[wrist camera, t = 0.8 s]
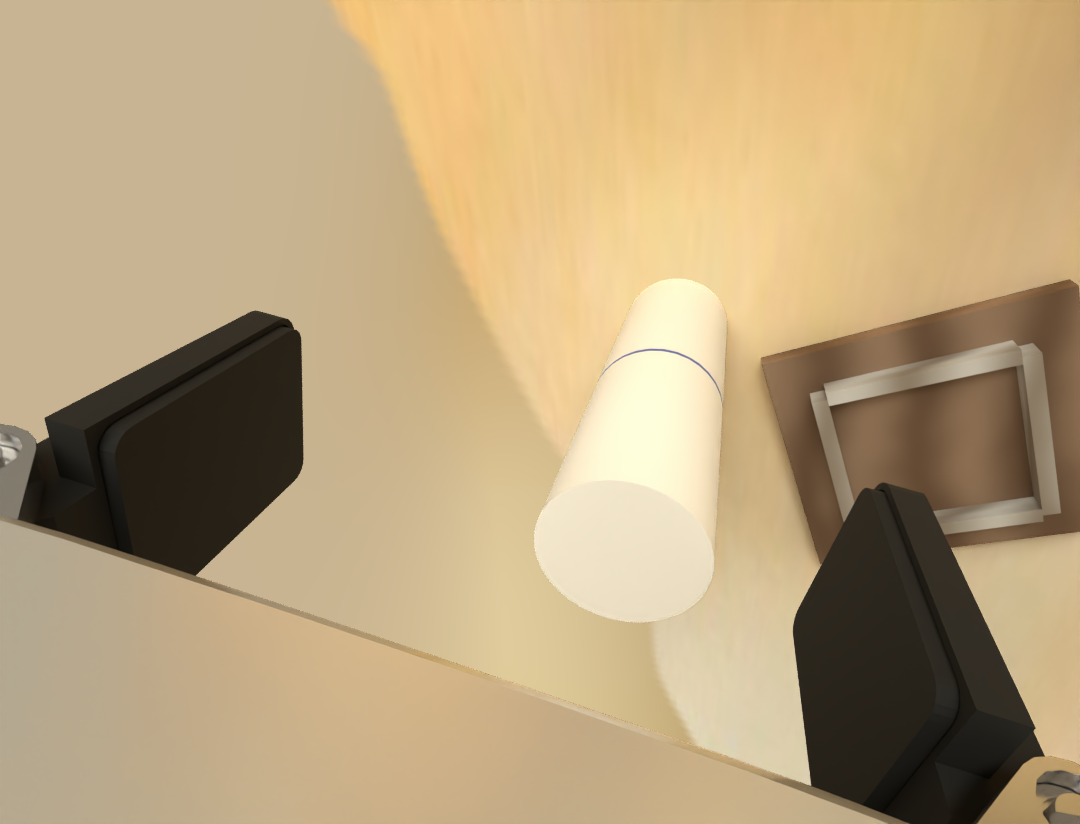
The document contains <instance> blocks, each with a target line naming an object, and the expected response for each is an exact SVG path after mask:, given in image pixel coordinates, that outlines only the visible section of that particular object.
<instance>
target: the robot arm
mask: <svg viewBox="0 0 1080 824" xmlns="http://www.w3.org/2000/svg"><path fill="white" fill-rule="evenodd" d="M301 358H302V356H301V336H300V334H299V332H298V331H297V330H294V327H293V325H292V323H291V322H290V321H289V320H288V319H285V318H281V317H278V316H274V315H271V314H267V313H263V312H259V311H252V312H250V313H248V314H246V315H244V316H242V317H240V318H238V319H236V320H234V321H232V322H231V323H228V324H226V325H224V326H222V327H220V328H219V329H216V330H215V331H213V332H211V333H209V334H207V335H205V336H203V337H201V338H199V339H197V340H195V341H193V342H191V343H189V344H187V345H185V346H183V347H181V348H180V349H178V350H176V351H174V352H172V353H170V354H168V355H166V356H164V357H162V358H160V359H158V360H156V361H154V362H152V363H150V364H148V365H146V366H145V367H143V368H141V369H139V370H137V371H135V372H133V373H131V374H129V375H127V376H125V377H123V378H121V379H119V380H117V381H116V382H113V383H112V384H109V385H108V386H106V387H104V388H102V389H100V390H98V391H96V392H94V393H92V394H90V395H88V396H86V397H84V398H82V399H81V400H78V401H76V402H75V403H72V404H71V405H69V406H67V407H65V408H63V409H61V410H59V411H57V412H55V413H53V414H51V415H49V416H48V417H45V422H46V426H47V430H48V433H49V438H47V439H45V440H43V441H41V442H40V443H38V444H37V443H36V439H35V438H34V437H33V436H32V435H31V434H30V433H29V432H28V431H26V430H23V429H21V428H18V427H16V426H10V425H4V424H0V824H1080V765H1079V764H1076V763H1074V762H1072V761H1068V760H1064V759H1060V758H1056V757H1052V756H1046V757H1045V756H1044V753H1043V751H1042V749H1041V747H1040V745H1039V743H1038V741H1037V738H1036V736H1035V734H1034V732H1033V731H1034V729H1035V726H1034V724H1033V722H1032V720H1031V717H1030V715H1029V713H1028V711H1027V709H1026V707H1025V705H1024V703H1023V700H1022V698H1021V696H1020V694H1019V692H1018V690H1017V688H1016V686H1015V683H1014V681H1013V679H1012V677H1011V675H1010V673H1009V671H1008V669H1007V667H1006V664H1005V662H1004V660H1003V658H1002V656H1001V654H1000V652H999V650H998V647H997V645H996V643H995V641H994V639H993V637H992V635H991V633H990V630H989V628H988V626H987V624H986V622H985V620H984V618H983V616H982V613H981V611H980V609H979V607H978V605H977V603H976V601H975V599H974V597H973V594H972V592H971V590H970V588H969V586H968V584H967V582H966V580H965V577H964V575H963V573H962V571H961V569H960V567H959V565H958V563H957V560H956V558H955V556H954V554H953V552H952V550H951V548H950V546H949V543H948V541H947V539H946V537H945V535H944V533H943V531H942V529H941V527H940V524H939V522H938V520H937V518H936V516H935V514H934V512H933V510H932V507H931V505H930V503H929V501H928V499H927V497H926V496H925V494H924V493H921V492H917V491H913V490H910V489H906V488H902V487H899V486H895V485H892V484H888V483H884V482H882V483H880V484H878V485H877V486H876V487H875V489H870V488H864V489H863V490H862V491H861V492H860V494H859V495H858V497H857V499H856V501H855V503H854V505H853V506H852V508H851V510H850V512H849V514H848V516H847V518H846V520H845V522H844V523H843V525H842V527H841V529H840V531H839V533H838V535H837V537H836V539H835V541H834V542H833V544H832V546H831V548H830V550H829V552H828V554H827V556H826V558H825V559H824V561H823V563H822V565H821V567H820V569H819V571H818V573H817V575H816V576H815V578H814V580H813V582H812V584H811V586H810V588H809V590H808V592H807V594H806V595H805V597H804V599H803V601H802V603H801V605H800V607H799V609H798V611H797V613H796V616H795V620H794V625H793V638H794V646H795V654H796V662H797V671H798V679H799V687H800V695H801V704H802V712H803V720H804V728H805V737H806V745H807V753H808V761H809V770H810V778H811V786H809V785H806V784H804V783H801V782H798V781H795V780H792V779H789V778H786V777H783V776H781V775H778V774H775V773H772V772H769V771H766V770H763V769H761V768H758V767H755V766H752V765H750V764H747V763H744V762H741V761H739V760H736V759H733V758H730V757H727V756H725V755H722V754H719V753H716V752H713V751H710V750H707V749H704V748H702V747H699V746H696V745H693V744H690V743H687V742H684V741H681V740H678V739H675V738H672V737H669V736H667V735H663V734H661V733H658V732H655V731H652V730H649V729H646V728H643V727H641V726H638V725H635V724H631V723H628V722H626V721H623V720H620V719H617V718H614V717H611V716H609V715H606V714H603V713H600V712H597V711H594V710H591V709H588V708H585V707H582V706H580V705H577V704H574V703H571V702H568V701H565V700H562V699H559V698H556V697H553V696H551V695H548V694H545V693H541V692H539V691H536V690H533V689H530V688H527V687H524V686H521V685H518V684H515V683H513V682H510V681H507V680H504V679H501V678H498V677H495V676H492V675H489V674H486V673H483V672H480V671H477V670H474V669H471V668H468V667H465V666H463V665H460V664H457V663H454V662H450V661H448V660H445V659H442V658H439V657H436V656H433V655H430V654H427V653H424V652H421V651H418V650H415V649H412V648H409V647H406V646H403V645H400V644H397V643H394V642H392V641H389V640H386V639H383V638H380V637H377V636H374V635H371V634H368V633H364V632H362V631H359V630H356V629H353V628H350V627H347V626H344V625H341V624H338V623H335V622H332V621H329V620H326V619H323V618H320V617H317V616H314V615H311V614H308V613H306V612H303V611H300V610H297V609H293V608H291V607H287V606H284V605H281V604H278V603H275V602H272V601H269V600H266V599H263V598H260V597H257V596H254V595H251V594H248V593H245V592H242V591H239V590H236V589H233V588H230V587H227V586H224V585H221V584H218V583H215V582H212V581H209V580H206V579H203V578H200V577H197V576H196V575H197V574H198V573H199V572H200V571H201V570H202V569H203V568H204V567H205V566H206V565H207V564H208V563H209V562H210V561H211V560H212V559H213V558H214V557H215V556H216V555H217V554H219V553H220V552H221V550H223V549H224V548H225V547H226V546H227V545H228V544H229V543H230V542H231V541H232V540H233V539H234V538H235V537H236V536H237V535H238V534H239V533H240V532H241V531H243V529H245V528H246V527H247V526H248V525H249V524H250V523H251V522H252V521H253V520H254V519H255V518H256V517H257V516H258V515H259V514H260V513H261V512H262V511H263V510H264V509H265V508H267V506H269V504H271V503H272V502H273V501H274V500H275V499H276V498H277V497H278V496H279V495H280V494H281V493H282V492H283V491H284V490H285V489H286V488H287V487H288V486H289V485H291V484H292V483H293V482H294V481H295V479H296V478H297V477H298V475H299V474H300V471H301V469H302V465H303V416H302V415H303V410H302V359H301Z"/></svg>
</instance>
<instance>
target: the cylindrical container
mask: <svg viewBox="0 0 1080 824" xmlns="http://www.w3.org/2000/svg"><path fill="white" fill-rule="evenodd" d="M726 342H727V318H726V313H725V310H724V308H723V305H722V303H721V302H720V301H719V299H718V298H717V296H716V295H715V294H714V293H713V292H712V291H711V290H709V289H708V288H706V287H705V286H703V285H702V284H699V283H697V282H694V281H691V280H686V279H667V280H662V281H659V282H657V283H654V284H652V285H650V286H649V287H647V288H646V289H644V290H643V291H642V292H641V293H640V294H639V295H638V296H637V297H636V299H635V300H634V301H633V303H632V305H631V307H630V309H629V312H628V314H627V316H626V318H625V321H624V323H623V325H622V328H621V330H620V332H619V334H618V337H617V339H616V341H615V344H614V346H613V348H612V350H611V353H610V355H609V357H608V359H607V362H606V364H605V366H604V369H603V371H602V373H601V375H600V378H599V380H598V382H597V385H596V387H595V389H594V391H593V394H592V396H591V398H590V401H589V403H588V405H587V408H586V410H585V412H584V415H583V417H582V419H581V421H580V424H579V426H578V428H577V431H576V433H575V435H574V438H573V440H572V442H571V444H570V447H569V449H568V451H567V454H566V456H565V458H564V461H563V463H562V465H561V468H560V470H559V472H558V475H557V477H556V479H555V482H554V484H553V486H552V488H551V491H550V493H549V495H548V498H547V500H546V502H545V505H544V507H543V509H542V511H541V514H540V516H539V518H538V521H537V523H536V527H535V533H534V545H535V553H536V556H537V559H538V562H539V564H540V567H541V568H542V570H543V572H544V573H545V575H546V577H547V578H548V580H549V581H550V582H551V583H552V584H553V585H554V586H555V588H556V589H557V590H558V591H559V592H560V593H562V594H563V595H564V596H565V597H566V598H568V599H569V600H570V601H572V602H574V603H575V604H577V605H578V606H580V607H581V608H583V609H585V610H588V611H590V612H592V613H594V614H597V615H599V616H603V617H606V618H610V619H613V620H619V621H626V622H653V621H658V620H664V619H667V618H670V617H673V616H676V615H679V614H681V613H682V612H684V611H686V610H687V609H689V608H691V607H692V606H693V605H694V604H695V603H696V602H698V601H699V600H700V599H701V598H702V596H703V595H704V593H705V592H706V590H707V589H708V587H709V585H710V582H711V579H712V576H713V573H714V557H715V540H716V523H717V507H718V490H719V473H720V452H721V432H722V412H723V396H724V379H725V363H726Z"/></svg>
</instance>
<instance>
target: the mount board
mask: <svg viewBox="0 0 1080 824" xmlns="http://www.w3.org/2000/svg"><path fill="white" fill-rule="evenodd" d="M761 360H762V367H763V371H764V374H765V377H766V381H767V384H768V388H769V391H770V394H771V398H772V401H773V404H774V408H775V411H776V415H777V418H778V421H779V425H780V428H781V432H782V435H783V438H784V442H785V445H786V449H787V452H788V455H789V459H790V462H791V466H792V469H793V472H794V476H795V479H796V483H797V486H798V489H799V493H800V496H801V500H802V503H803V506H804V510H805V513H806V517H807V520H808V523H809V527H810V530H811V534H812V537H813V540H814V544H815V547H816V551H817V554H818V557H819V561H820V564H821V563H823V561H824V559H825V558H826V556H827V554H828V552H829V550H830V548H831V546H832V544H833V542H834V541H835V539H836V537H837V535H838V533H839V531H840V529H841V527H842V525H843V523H844V522H845V520H846V518H847V516H848V514H849V512H850V510H851V508H852V506H853V505H854V503H855V501H856V499H857V497H858V495H859V494H860V492H861V491H862V490H863V489H864V488H870V489H875V487H876V486H877V485H878V484H880V483H882V482H884V483H888V484H892V485H895V486H899V487H902V488H906V489H910V490H913V491H917V492H921V493H924V494H925V496H926V497H927V499H928V501H929V503H930V505H931V507H932V510H933V512H934V514H935V516H936V518H937V520H938V522H939V524H940V527H941V529H942V531H943V533H944V535H945V537H946V539H947V541H948V543H949V546H950V547H958V546H967V545H975V544H983V543H991V542H999V541H1007V540H1015V539H1023V538H1031V537H1039V536H1047V535H1055V534H1063V533H1071V532H1080V297H1079V286H1078V285H1077V284H1075V283H1074V282H1073V281H1071V280H1066V281H1062V282H1058V283H1054V284H1050V285H1046V286H1042V287H1038V288H1034V289H1030V290H1026V291H1022V292H1018V293H1015V294H1011V295H1007V296H1003V297H999V298H995V299H991V300H987V301H983V302H979V303H975V304H971V305H967V306H963V307H959V308H955V309H952V310H948V311H944V312H940V313H936V314H932V315H928V316H924V317H920V318H916V319H912V320H908V321H904V322H900V323H896V324H893V325H889V326H885V327H881V328H877V329H873V330H869V331H865V332H861V333H857V334H853V335H849V336H845V337H841V338H837V339H834V340H830V341H826V342H822V343H818V344H814V345H810V346H806V347H802V348H798V349H794V350H790V351H786V352H782V353H778V354H775V355H771V356H767V357H763V358H761Z"/></svg>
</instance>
